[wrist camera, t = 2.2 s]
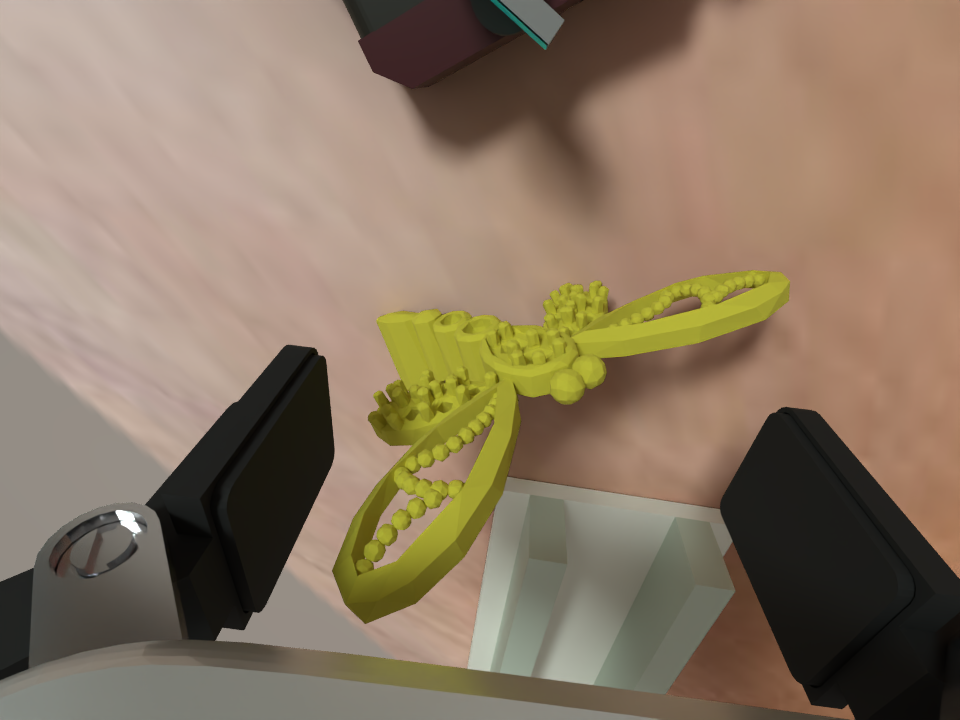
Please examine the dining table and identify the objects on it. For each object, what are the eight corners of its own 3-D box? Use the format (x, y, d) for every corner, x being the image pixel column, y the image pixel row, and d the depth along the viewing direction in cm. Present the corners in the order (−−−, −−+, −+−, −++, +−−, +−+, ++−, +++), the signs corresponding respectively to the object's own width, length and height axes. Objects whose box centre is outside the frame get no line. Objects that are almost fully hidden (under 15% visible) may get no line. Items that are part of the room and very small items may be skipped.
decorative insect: (541, 228, 20) (805, 251, 12) (555, 298, 21) (796, 360, 13) (233, 380, 14) (334, 603, 7) (282, 457, 16) (411, 711, 8)
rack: (734, 511, 20) (772, 596, 16) (631, 687, 28) (643, 766, 25) (500, 475, 20) (493, 552, 17) (468, 660, 29) (459, 734, 25)
